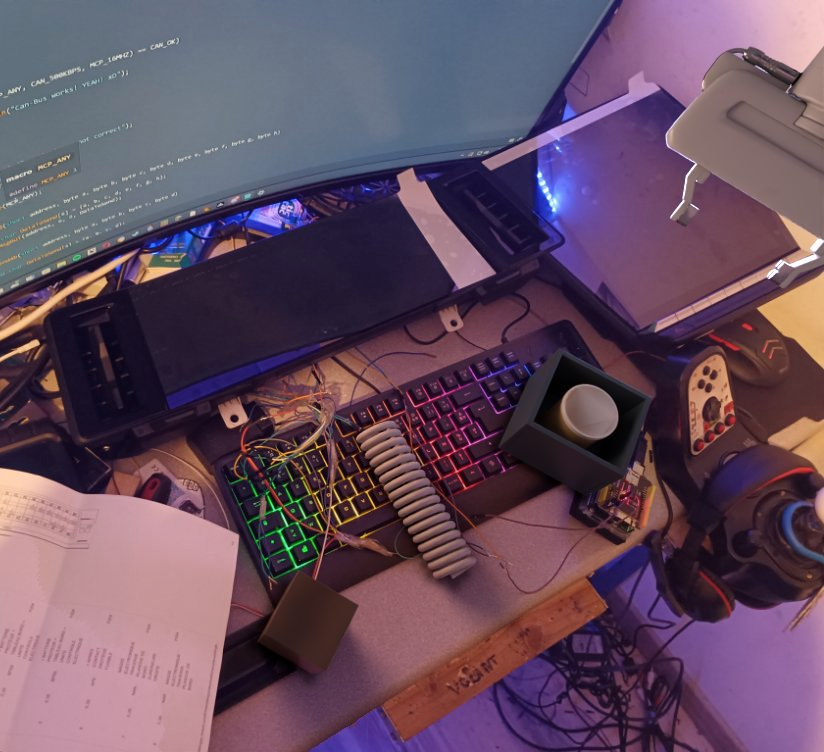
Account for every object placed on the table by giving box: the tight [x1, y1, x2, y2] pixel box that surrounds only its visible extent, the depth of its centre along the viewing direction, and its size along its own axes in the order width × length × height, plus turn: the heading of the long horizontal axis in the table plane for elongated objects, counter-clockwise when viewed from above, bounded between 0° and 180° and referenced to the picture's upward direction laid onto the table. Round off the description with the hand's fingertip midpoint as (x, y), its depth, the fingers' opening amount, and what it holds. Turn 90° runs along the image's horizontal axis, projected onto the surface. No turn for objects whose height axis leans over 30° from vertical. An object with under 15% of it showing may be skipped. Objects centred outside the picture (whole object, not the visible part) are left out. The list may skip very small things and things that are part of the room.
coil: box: [355, 420, 477, 580], centre depth 76 cm, size 5×5×18 cm
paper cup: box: [536, 384, 618, 449], centre depth 79 cm, size 6×6×8 cm
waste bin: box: [498, 348, 653, 497], centre depth 79 cm, size 11×10×9 cm
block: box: [257, 570, 360, 674], centre depth 66 cm, size 6×6×11 cm
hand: (725, 252), depth 62 cm, fingers open, 8 cm apart
